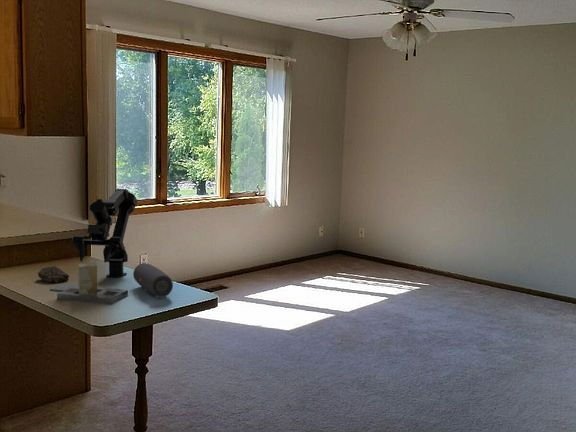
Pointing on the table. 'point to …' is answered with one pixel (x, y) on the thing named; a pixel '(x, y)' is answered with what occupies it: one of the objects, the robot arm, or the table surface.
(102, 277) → the table surface
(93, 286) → the skincare box
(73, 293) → the grey black flat block
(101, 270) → the table surface
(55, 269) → the concrete sample
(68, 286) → the pad
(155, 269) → the bluetooth speaker
